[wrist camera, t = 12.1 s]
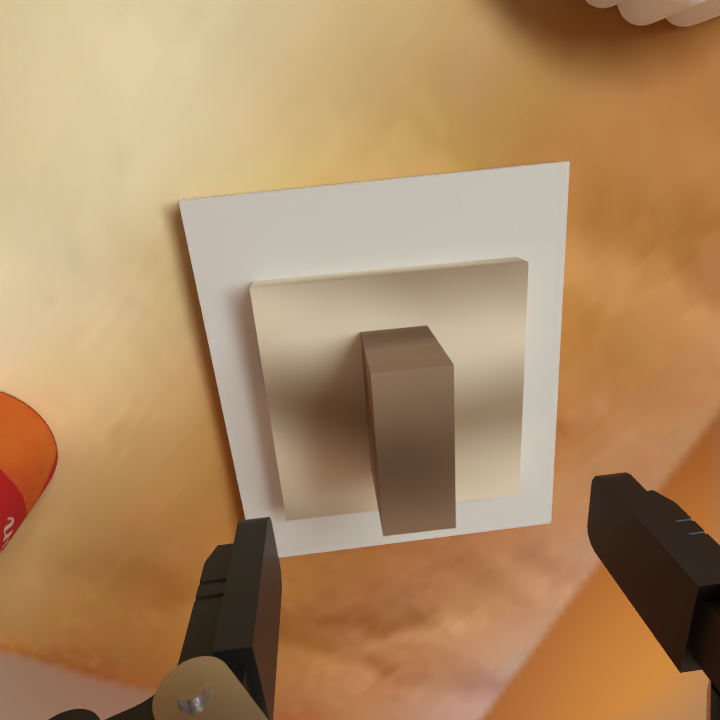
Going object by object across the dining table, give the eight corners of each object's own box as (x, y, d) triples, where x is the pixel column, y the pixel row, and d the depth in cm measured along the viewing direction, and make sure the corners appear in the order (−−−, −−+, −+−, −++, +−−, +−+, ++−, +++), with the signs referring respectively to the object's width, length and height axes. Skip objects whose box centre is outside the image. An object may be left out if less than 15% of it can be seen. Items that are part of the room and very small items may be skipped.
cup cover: (253, 281, 19) (232, 320, 14) (516, 256, 20) (581, 287, 15) (287, 503, 23) (280, 594, 18) (509, 478, 23) (559, 561, 18)
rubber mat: (183, 199, 19) (178, 200, 18) (559, 161, 19) (569, 161, 19) (256, 549, 25) (254, 561, 24) (544, 512, 25) (551, 522, 24)
